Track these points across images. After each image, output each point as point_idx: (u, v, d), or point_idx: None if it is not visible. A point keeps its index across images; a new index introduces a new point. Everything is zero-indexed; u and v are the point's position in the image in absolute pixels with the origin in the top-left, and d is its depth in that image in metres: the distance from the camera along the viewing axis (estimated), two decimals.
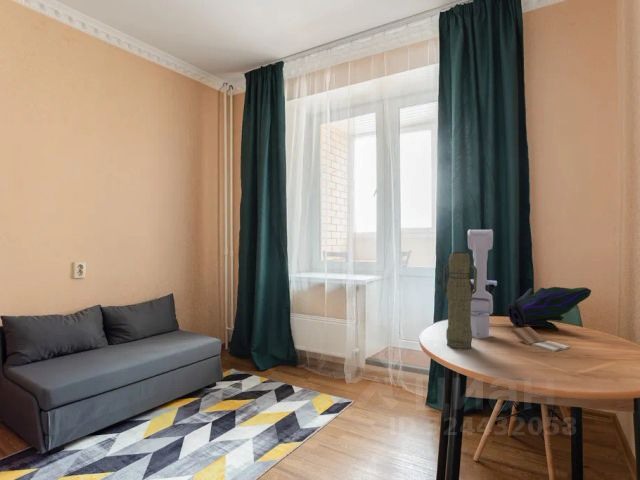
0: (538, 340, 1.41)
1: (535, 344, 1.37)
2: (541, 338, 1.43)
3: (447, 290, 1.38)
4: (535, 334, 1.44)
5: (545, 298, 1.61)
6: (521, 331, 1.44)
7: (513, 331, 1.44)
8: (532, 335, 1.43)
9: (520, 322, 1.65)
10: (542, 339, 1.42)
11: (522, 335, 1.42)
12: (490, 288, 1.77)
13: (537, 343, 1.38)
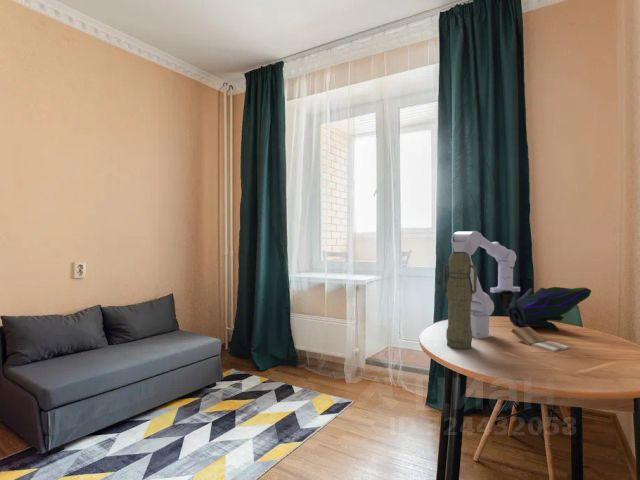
0: (538, 340, 1.41)
1: (535, 344, 1.37)
2: (541, 338, 1.43)
3: (447, 290, 1.38)
4: (535, 334, 1.44)
5: (545, 298, 1.61)
6: (521, 331, 1.44)
7: (513, 331, 1.44)
8: (532, 335, 1.43)
9: (520, 322, 1.65)
10: (542, 339, 1.42)
11: (522, 335, 1.42)
12: (511, 294, 1.58)
13: (537, 343, 1.38)
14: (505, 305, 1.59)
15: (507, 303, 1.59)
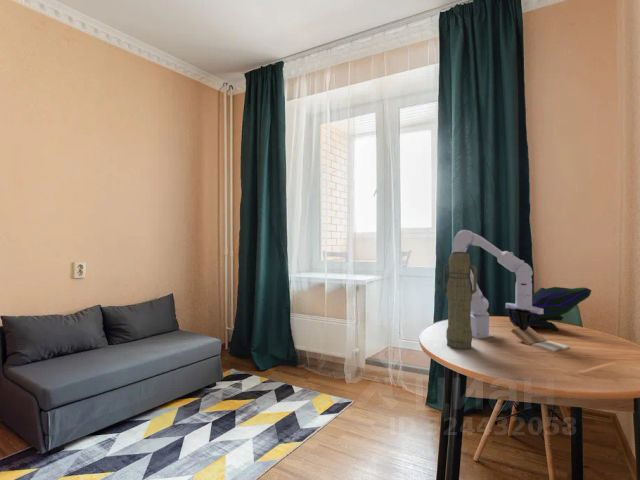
0: (538, 340, 1.41)
1: (535, 344, 1.37)
2: (541, 338, 1.43)
3: (447, 290, 1.38)
4: (535, 334, 1.44)
5: (545, 298, 1.61)
6: (521, 331, 1.44)
7: (513, 331, 1.44)
8: (532, 335, 1.43)
9: None
10: (542, 339, 1.42)
11: (522, 335, 1.42)
12: (521, 314, 1.43)
13: (537, 343, 1.38)
14: None
15: (519, 323, 1.45)
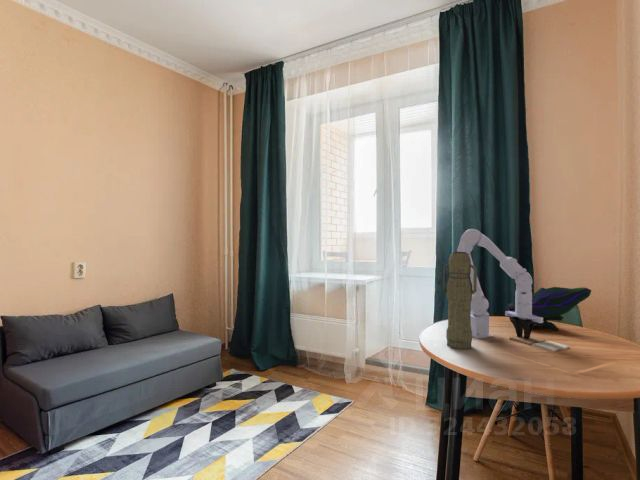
0: (537, 341, 1.41)
1: (535, 344, 1.37)
2: (540, 339, 1.43)
3: (447, 290, 1.38)
4: (534, 338, 1.45)
5: (545, 298, 1.61)
6: (519, 337, 1.45)
7: (511, 339, 1.45)
8: (530, 338, 1.44)
9: None
10: (541, 340, 1.42)
11: (520, 339, 1.42)
12: (524, 323, 1.42)
13: (537, 343, 1.38)
14: None
15: (516, 331, 1.46)
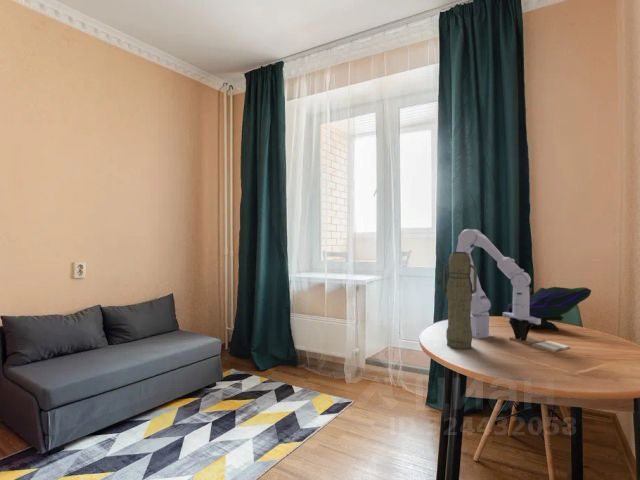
0: (537, 341, 1.41)
1: (535, 344, 1.37)
2: (540, 339, 1.43)
3: (447, 290, 1.38)
4: (534, 338, 1.45)
5: (545, 298, 1.61)
6: None
7: (511, 339, 1.45)
8: (530, 338, 1.44)
9: None
10: (541, 340, 1.42)
11: (520, 339, 1.42)
12: (521, 324, 1.40)
13: (537, 343, 1.38)
14: None
15: (515, 332, 1.44)
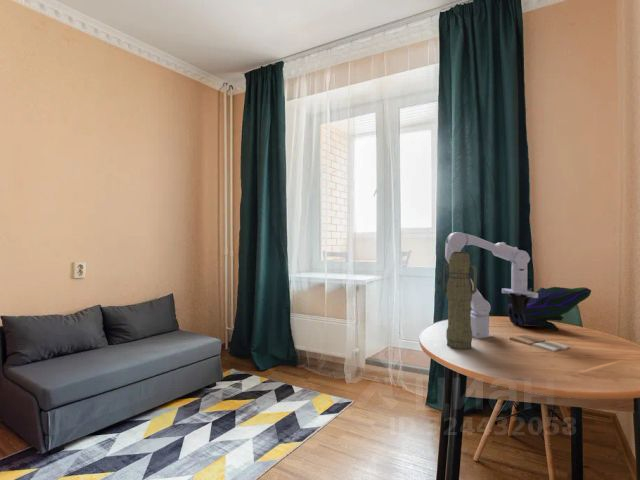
0: (537, 341, 1.41)
1: (535, 344, 1.37)
2: (540, 339, 1.43)
3: (447, 290, 1.38)
4: (534, 338, 1.45)
5: (545, 298, 1.61)
6: (519, 337, 1.45)
7: (511, 339, 1.45)
8: (530, 338, 1.44)
9: (520, 322, 1.65)
10: (541, 340, 1.42)
11: (520, 339, 1.42)
12: (519, 298, 1.47)
13: (537, 343, 1.38)
14: None
15: (513, 307, 1.51)
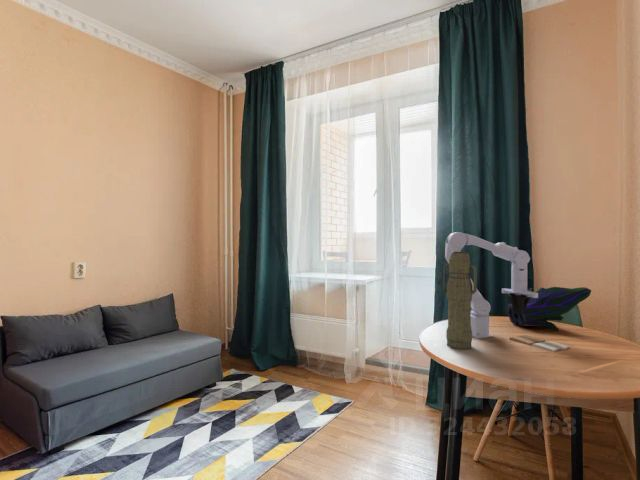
0: (537, 341, 1.41)
1: (535, 344, 1.37)
2: (540, 339, 1.43)
3: (447, 290, 1.38)
4: (534, 338, 1.45)
5: (545, 298, 1.61)
6: (519, 337, 1.45)
7: (511, 339, 1.45)
8: (530, 338, 1.44)
9: (520, 322, 1.65)
10: (541, 340, 1.42)
11: (520, 339, 1.42)
12: (519, 298, 1.47)
13: (537, 343, 1.38)
14: None
15: (513, 307, 1.51)
